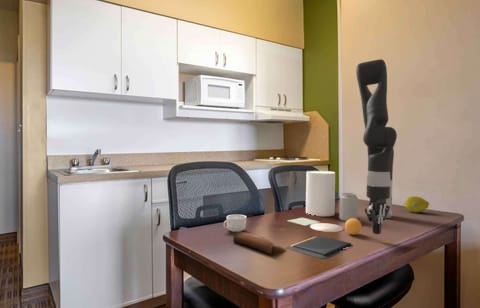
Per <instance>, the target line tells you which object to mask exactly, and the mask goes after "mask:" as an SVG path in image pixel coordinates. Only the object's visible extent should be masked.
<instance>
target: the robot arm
mask: <svg viewBox="0 0 480 308" xmlns="http://www.w3.org/2000/svg"><path fill="white" fill-rule="evenodd" d="M355 74H356V81H357V85H358V89H359V93H360V94H359V95H360V100H361V106H362V107H361V108H362V109H361V110H362V117H363V123H364V129H365V130H364V133H363V139H362V141H363V142H364V143H363V144H364V145H365V146H367V175H366V194H365V195H366V198H368V199H369V202H368V205H369V206H368V208H367V207H366V208H364V213H365V215H366V217H367V219H368V221H369V222H371V223H372V233H373V234H374V235H380V234H382V224H383V221H386V219H390V218H392V216H393V171H394V168H393V167H394V160H395V159H394V157H395V151H394V147H395V144H396V142H397V136H398V134H397V131H396V129H395V128H393V127H391V126H387V124H388V122H389V111H388V103H387V102H388V101H387V97H388V96H387V94H388V69H387V65H386V61H385V60H384V59H381V58H380V59H374V60H370V61H369V60H368V61H363V62H361V63H358V64H356V68H355ZM372 85H373V86H374V85H377V86H376V89H374V92H373V93H372V92H371V91H370V89H369V87H368V86H372Z"/></svg>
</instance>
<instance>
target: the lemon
mask: <svg viewBox="0 0 480 308" xmlns="http://www.w3.org/2000/svg"><path fill="white" fill-rule="evenodd" d="M404 205H405V208H406V209H407V210H408V211H409V212H411V213H416V214H417V213H422V212H424V211H425V210H426V209H428V208H429V206H430V202H429V201H427V200H426V199H424V198H422V197H421V196H416V195H415V196H413V195H412V196H409V197H408V198H407V199H406V201H404Z"/></svg>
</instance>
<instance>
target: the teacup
mask: <svg viewBox="0 0 480 308" xmlns="http://www.w3.org/2000/svg"><path fill="white" fill-rule="evenodd" d="M222 225H223V228H225V229H228V230H229V231H230V232H232V233H241V232H243V231H244V230H245V228H246V226H247V215H244V214H229V215H227V216H226V220H224V222H223V224H222Z"/></svg>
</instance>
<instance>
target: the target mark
mask: <svg viewBox="0 0 480 308" xmlns="http://www.w3.org/2000/svg"><path fill="white" fill-rule="evenodd" d="M309 227H310V229H311V230H314V231H317V232H325V233H337V232H339V233H340V232H342V231H344V230H345V227H344V226H341V225H339V224H335V223H327V222H326V223H325V222H320V223H316V224H311V225H309Z"/></svg>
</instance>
